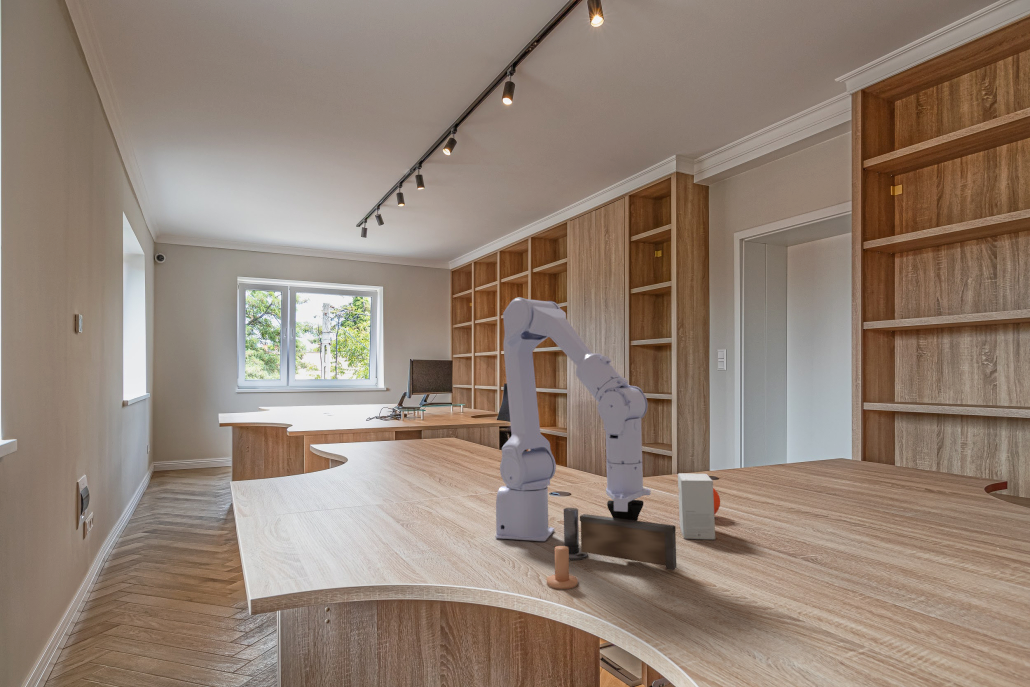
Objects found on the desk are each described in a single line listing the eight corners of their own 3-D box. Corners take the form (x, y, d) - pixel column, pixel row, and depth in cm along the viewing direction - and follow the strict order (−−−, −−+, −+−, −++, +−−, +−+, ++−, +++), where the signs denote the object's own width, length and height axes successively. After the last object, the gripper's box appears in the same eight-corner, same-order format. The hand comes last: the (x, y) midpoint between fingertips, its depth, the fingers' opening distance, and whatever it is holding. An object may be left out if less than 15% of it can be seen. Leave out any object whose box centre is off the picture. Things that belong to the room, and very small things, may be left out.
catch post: (543, 587, 80) (543, 551, 81) (550, 576, 85) (550, 542, 85) (574, 590, 79) (573, 553, 79) (580, 579, 83) (579, 544, 84)
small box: (715, 540, 102) (713, 480, 102) (683, 539, 103) (681, 480, 103) (709, 528, 109) (707, 473, 110) (679, 527, 111) (677, 472, 111)
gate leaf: (580, 554, 93) (579, 516, 93) (584, 552, 94) (584, 514, 95) (673, 570, 85) (672, 528, 85) (676, 567, 86) (675, 525, 86)
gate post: (553, 558, 93) (552, 512, 93) (560, 549, 98) (559, 505, 98) (584, 561, 91) (583, 513, 92) (589, 551, 96) (588, 506, 97)
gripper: (646, 469, 85) (649, 563, 84) (651, 455, 99) (654, 535, 98) (599, 468, 87) (601, 559, 86) (610, 454, 101) (612, 533, 100)
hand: (626, 546), depth 92 cm, fingers closed
